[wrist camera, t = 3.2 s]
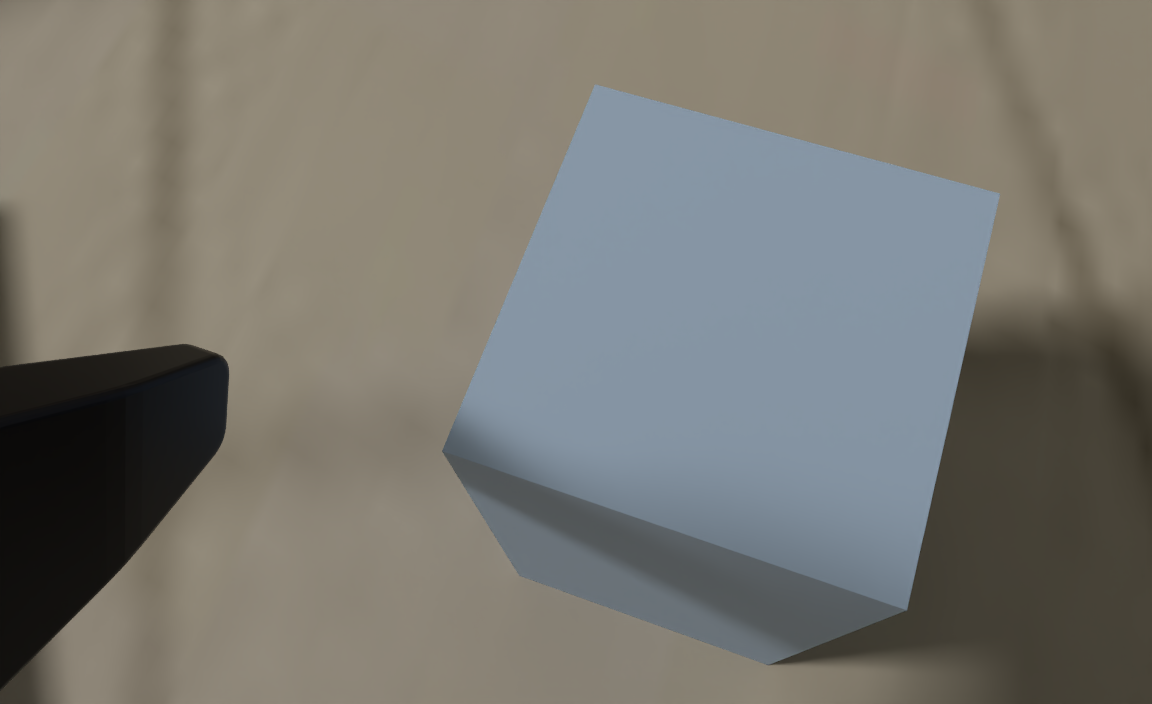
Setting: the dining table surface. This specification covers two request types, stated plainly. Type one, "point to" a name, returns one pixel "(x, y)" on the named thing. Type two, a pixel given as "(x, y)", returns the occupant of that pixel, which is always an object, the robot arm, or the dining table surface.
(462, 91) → the dining table surface
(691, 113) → the pillar block
